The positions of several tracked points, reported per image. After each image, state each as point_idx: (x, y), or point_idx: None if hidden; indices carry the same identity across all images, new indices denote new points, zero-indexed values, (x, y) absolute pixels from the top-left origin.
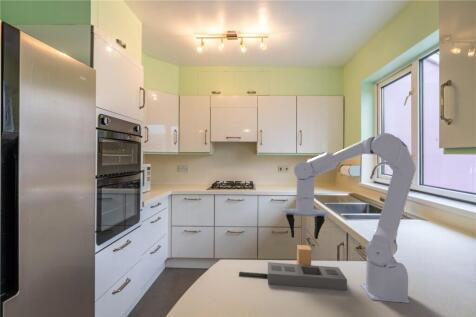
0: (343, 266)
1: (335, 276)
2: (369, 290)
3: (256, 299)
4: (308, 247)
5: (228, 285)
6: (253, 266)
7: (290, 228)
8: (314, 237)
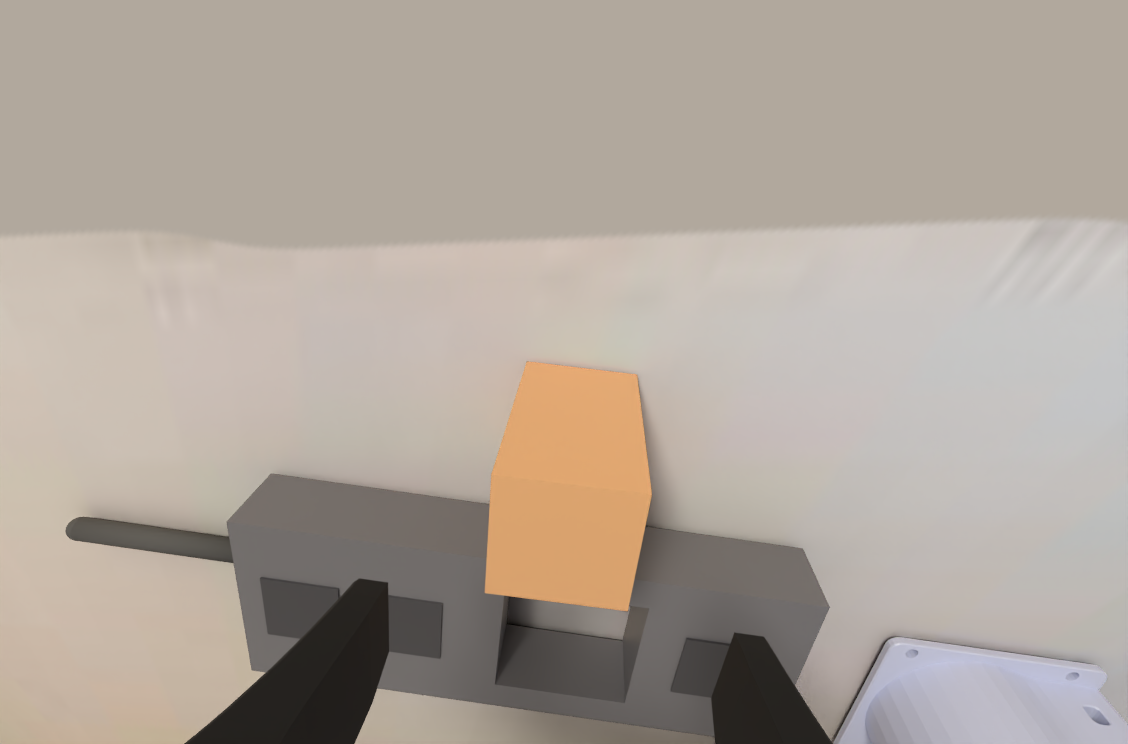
0: (1000, 364)
1: (710, 715)
2: (871, 733)
3: None
4: (619, 550)
5: (69, 610)
6: (145, 379)
7: (271, 685)
8: (729, 646)
